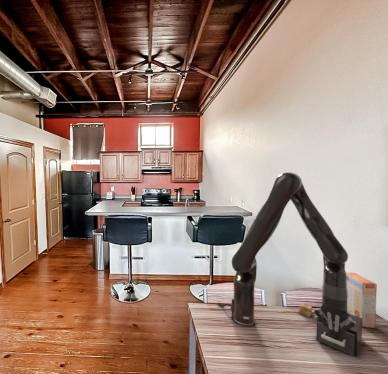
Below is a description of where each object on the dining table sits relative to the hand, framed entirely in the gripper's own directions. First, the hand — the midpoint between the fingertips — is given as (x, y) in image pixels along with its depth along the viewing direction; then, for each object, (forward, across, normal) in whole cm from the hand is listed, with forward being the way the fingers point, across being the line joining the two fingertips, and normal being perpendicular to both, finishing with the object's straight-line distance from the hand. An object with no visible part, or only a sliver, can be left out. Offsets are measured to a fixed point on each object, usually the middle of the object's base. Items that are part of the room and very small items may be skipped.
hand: (333, 338), depth 91 cm
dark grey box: (+6, 0, +12) cm, 13 cm away
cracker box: (+6, +3, +39) cm, 39 cm away
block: (+6, -15, +25) cm, 30 cm away
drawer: (+5, 0, +7) cm, 8 cm away
